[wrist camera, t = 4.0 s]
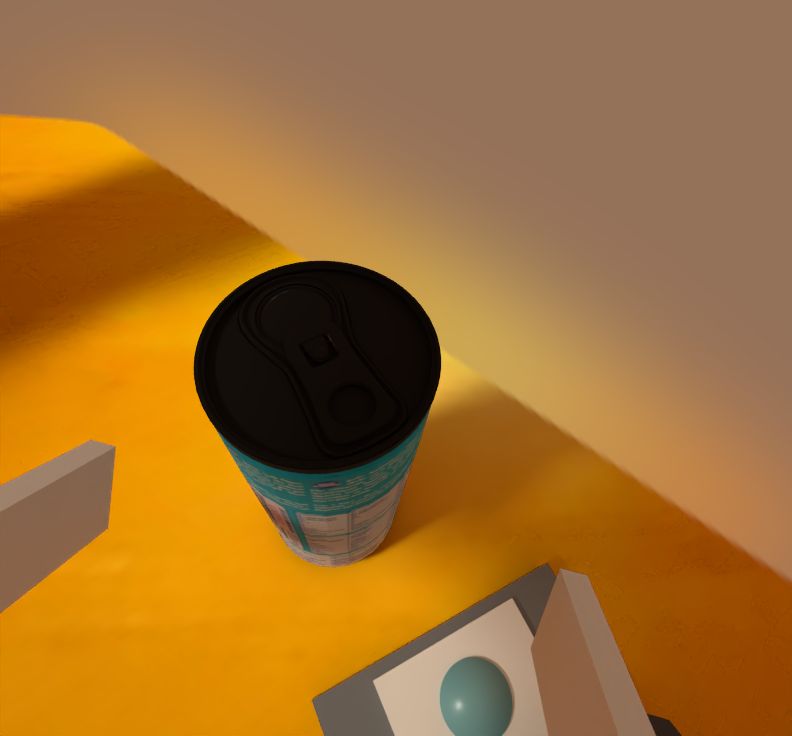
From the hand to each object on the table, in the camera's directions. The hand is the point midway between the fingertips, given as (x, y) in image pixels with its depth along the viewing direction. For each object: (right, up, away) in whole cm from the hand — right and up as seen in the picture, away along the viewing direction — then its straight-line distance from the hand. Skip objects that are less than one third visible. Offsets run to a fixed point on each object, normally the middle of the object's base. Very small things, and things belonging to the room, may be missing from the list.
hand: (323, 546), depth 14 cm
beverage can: (-1, -2, +11) cm, 11 cm away
